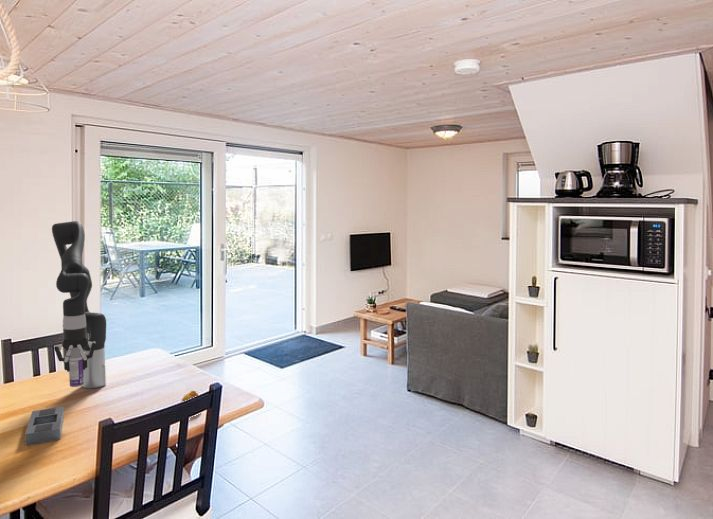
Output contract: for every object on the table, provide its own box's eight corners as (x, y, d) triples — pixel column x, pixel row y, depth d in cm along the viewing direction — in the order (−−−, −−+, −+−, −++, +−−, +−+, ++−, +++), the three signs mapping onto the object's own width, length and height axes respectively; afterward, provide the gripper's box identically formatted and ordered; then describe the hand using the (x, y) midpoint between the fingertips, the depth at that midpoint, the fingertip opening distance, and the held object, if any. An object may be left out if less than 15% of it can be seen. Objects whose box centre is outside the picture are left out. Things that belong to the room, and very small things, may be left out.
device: (63, 416, 185) (63, 406, 185) (60, 439, 168) (59, 428, 167) (32, 421, 180) (32, 410, 180) (25, 445, 163) (25, 434, 162)
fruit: (209, 404, 194) (201, 386, 195) (192, 413, 188) (184, 394, 188) (198, 410, 199) (190, 392, 200) (181, 418, 192) (173, 400, 193)
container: (80, 381, 186) (78, 343, 184) (86, 384, 183) (85, 346, 181) (67, 385, 182) (65, 346, 180) (73, 388, 179) (71, 349, 178)
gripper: (96, 322, 187) (97, 364, 188) (53, 325, 180) (54, 369, 182) (96, 326, 180) (97, 370, 182) (51, 330, 173) (53, 375, 175)
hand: (76, 369), depth 182 cm, fingers closed on container, 4 cm apart
